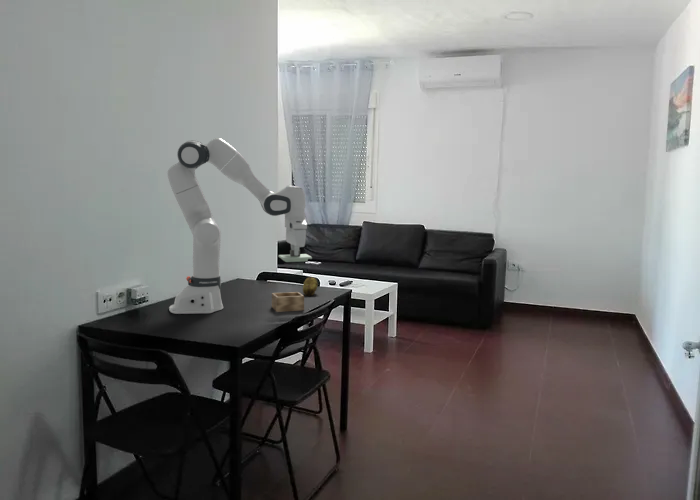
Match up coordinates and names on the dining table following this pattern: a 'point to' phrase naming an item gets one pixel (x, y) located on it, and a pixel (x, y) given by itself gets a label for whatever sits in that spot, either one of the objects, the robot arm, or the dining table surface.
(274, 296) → the box
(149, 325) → the dining table surface
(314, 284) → the potato
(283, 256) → the lid
